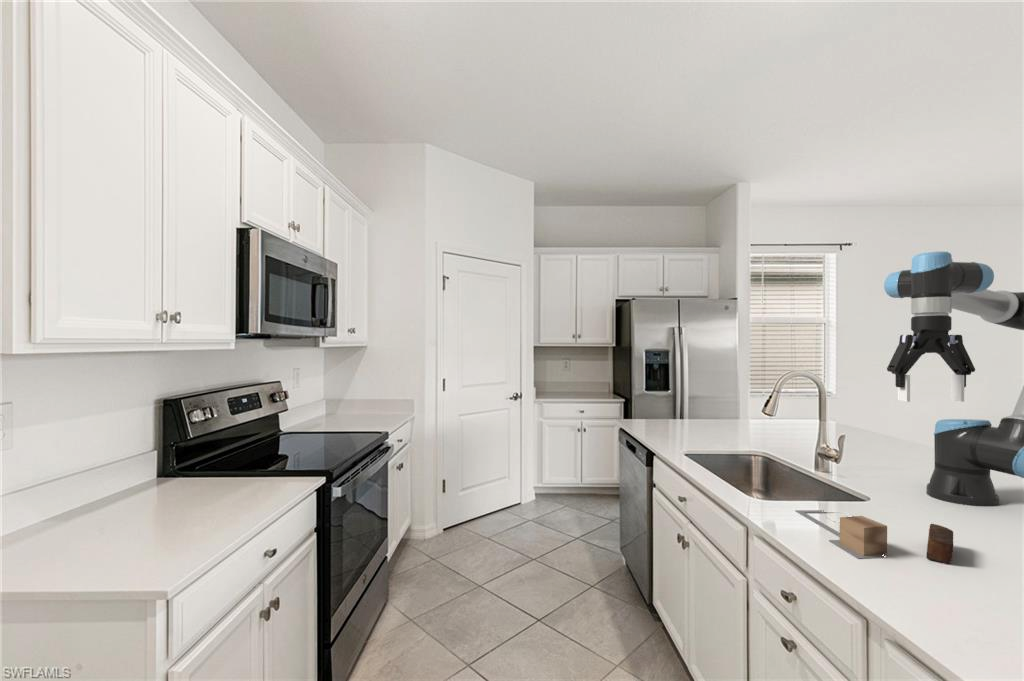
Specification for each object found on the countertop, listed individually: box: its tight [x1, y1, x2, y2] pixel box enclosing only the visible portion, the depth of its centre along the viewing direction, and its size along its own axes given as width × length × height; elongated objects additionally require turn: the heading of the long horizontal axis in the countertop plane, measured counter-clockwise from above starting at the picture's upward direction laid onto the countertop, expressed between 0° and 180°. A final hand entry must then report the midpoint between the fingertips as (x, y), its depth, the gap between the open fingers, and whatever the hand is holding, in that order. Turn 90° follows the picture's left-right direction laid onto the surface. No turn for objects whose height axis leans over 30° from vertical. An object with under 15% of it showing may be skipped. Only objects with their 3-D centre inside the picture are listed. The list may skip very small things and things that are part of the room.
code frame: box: [794, 509, 840, 538], centre depth 120 cm, size 13×17×1 cm
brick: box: [926, 523, 954, 565], centre depth 101 cm, size 11×4×5 cm, turn 137°
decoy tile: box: [828, 539, 886, 560], centre depth 105 cm, size 9×9×1 cm
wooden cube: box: [839, 515, 888, 556], centre depth 105 cm, size 6×6×6 cm
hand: (930, 401), depth 117 cm, fingers open, 13 cm apart
